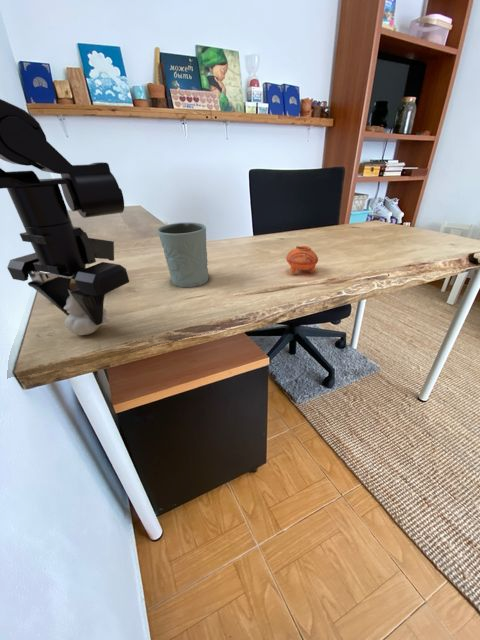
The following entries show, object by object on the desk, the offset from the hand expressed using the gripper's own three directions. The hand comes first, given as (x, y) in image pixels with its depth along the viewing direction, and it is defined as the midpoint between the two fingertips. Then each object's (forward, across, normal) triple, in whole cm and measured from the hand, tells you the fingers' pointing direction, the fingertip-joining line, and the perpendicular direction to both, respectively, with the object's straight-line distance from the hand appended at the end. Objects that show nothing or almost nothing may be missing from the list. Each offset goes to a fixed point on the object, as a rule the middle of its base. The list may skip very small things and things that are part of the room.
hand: (87, 321), depth 50 cm
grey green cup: (+2, -3, -26) cm, 26 cm away
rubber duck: (+2, 0, 0) cm, 2 cm away
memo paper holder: (+2, +17, -12) cm, 21 cm away
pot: (+2, -26, -41) cm, 49 cm away
